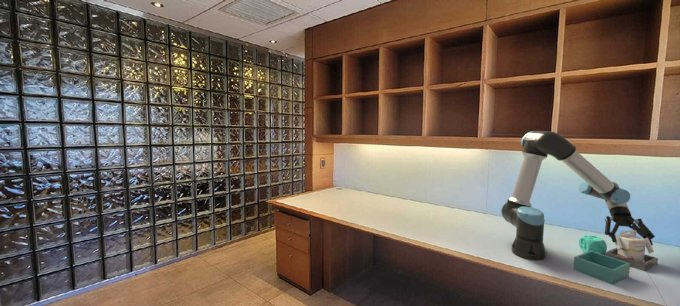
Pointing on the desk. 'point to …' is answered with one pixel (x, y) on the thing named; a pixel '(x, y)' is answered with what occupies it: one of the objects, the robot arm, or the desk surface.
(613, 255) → the socket collar
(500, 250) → the desk surface
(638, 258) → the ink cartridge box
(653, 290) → the desk surface
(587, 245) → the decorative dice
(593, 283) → the desk surface
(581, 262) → the teal bin
